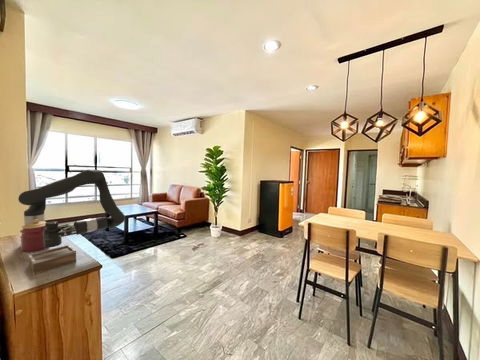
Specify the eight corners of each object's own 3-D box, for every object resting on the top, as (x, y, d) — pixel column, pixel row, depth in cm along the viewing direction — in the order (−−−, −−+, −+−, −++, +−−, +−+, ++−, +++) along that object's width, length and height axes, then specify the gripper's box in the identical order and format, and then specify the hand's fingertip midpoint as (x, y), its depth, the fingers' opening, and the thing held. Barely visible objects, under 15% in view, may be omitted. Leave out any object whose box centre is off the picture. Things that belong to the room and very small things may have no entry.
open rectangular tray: (28, 265, 101) (28, 254, 101) (69, 254, 114) (68, 244, 114) (33, 274, 94) (33, 262, 94) (76, 261, 107) (75, 250, 107)
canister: (43, 251, 117) (42, 222, 116) (14, 253, 113) (13, 223, 112) (56, 242, 129) (55, 216, 128) (30, 244, 125) (29, 216, 124)
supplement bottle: (65, 243, 106) (63, 221, 105) (49, 248, 99) (47, 225, 98) (56, 241, 108) (55, 219, 107) (40, 246, 101) (39, 223, 100)
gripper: (81, 217, 118) (42, 223, 105) (90, 222, 110) (49, 230, 97) (81, 229, 119) (43, 237, 106) (90, 235, 111) (50, 245, 97)
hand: (46, 234), depth 101 cm, fingers closed on supplement bottle, 7 cm apart
